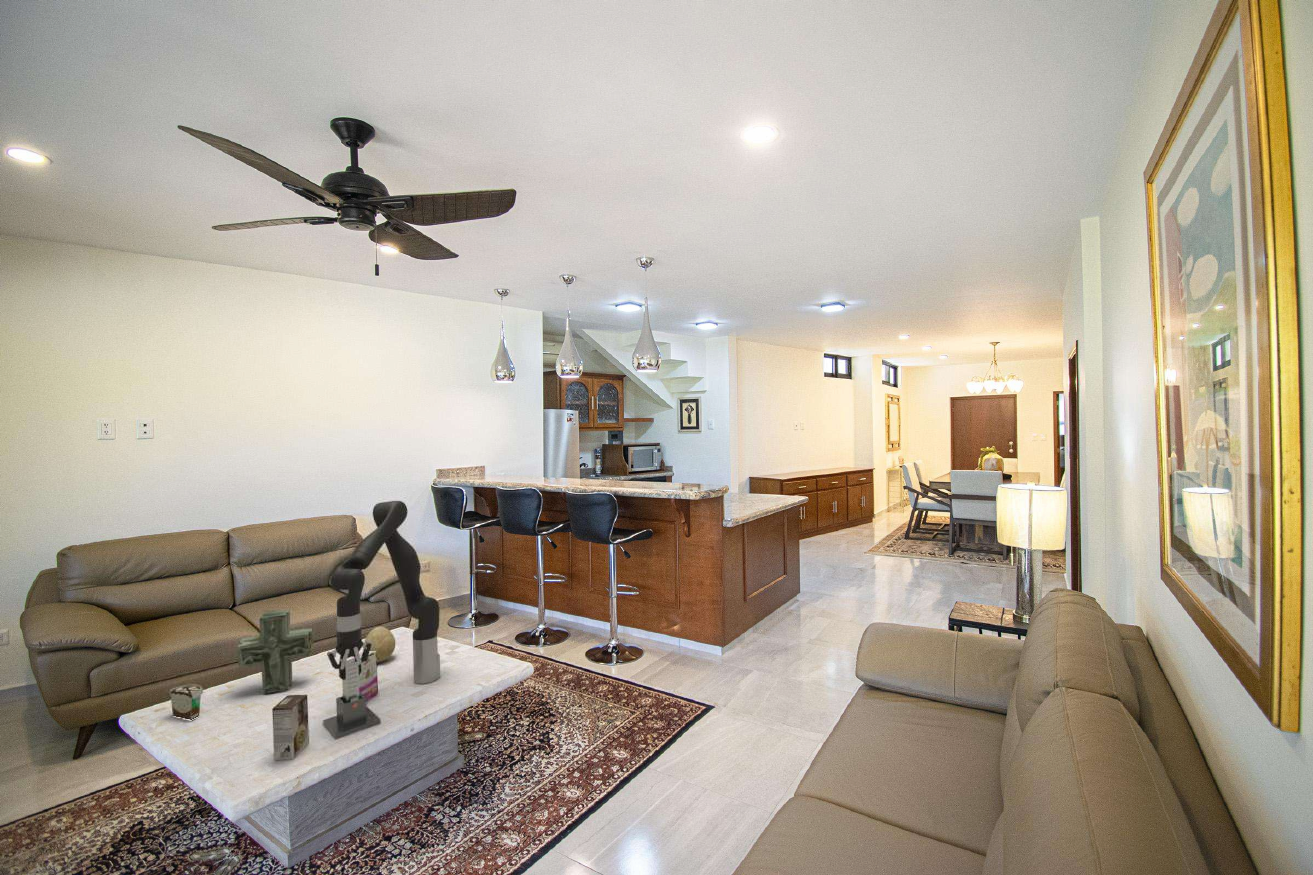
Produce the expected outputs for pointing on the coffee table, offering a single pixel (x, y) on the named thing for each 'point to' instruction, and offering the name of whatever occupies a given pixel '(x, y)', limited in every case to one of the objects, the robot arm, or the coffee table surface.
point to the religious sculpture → (275, 650)
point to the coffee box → (290, 727)
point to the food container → (186, 701)
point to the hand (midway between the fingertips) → (350, 676)
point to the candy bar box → (369, 676)
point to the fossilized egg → (381, 643)
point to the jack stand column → (351, 680)
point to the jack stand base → (351, 717)
